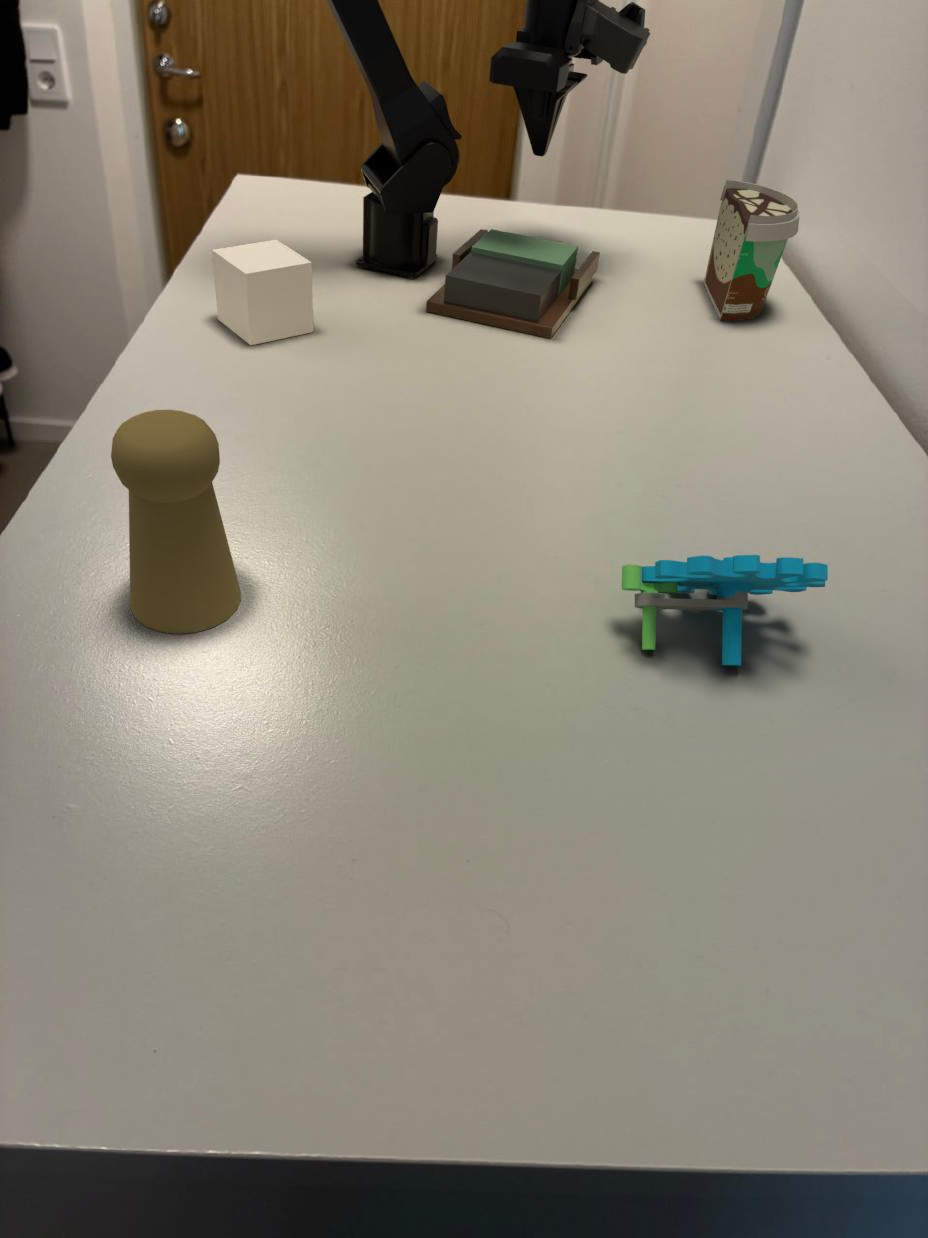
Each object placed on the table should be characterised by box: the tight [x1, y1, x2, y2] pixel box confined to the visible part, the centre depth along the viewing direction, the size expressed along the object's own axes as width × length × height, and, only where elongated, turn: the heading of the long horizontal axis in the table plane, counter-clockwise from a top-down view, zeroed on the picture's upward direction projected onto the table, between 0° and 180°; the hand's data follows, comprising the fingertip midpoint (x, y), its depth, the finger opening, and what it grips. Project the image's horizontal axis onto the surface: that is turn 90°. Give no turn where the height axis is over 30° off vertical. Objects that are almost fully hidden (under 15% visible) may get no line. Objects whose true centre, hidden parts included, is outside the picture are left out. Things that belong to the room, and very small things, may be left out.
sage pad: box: [471, 228, 579, 296], centre depth 92 cm, size 6×9×3 cm, turn 71°
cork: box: [110, 409, 242, 635], centre depth 50 cm, size 6×6×11 cm
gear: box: [621, 554, 829, 667], centre depth 52 cm, size 11×6×10 cm
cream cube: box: [211, 239, 314, 346], centre depth 80 cm, size 6×6×6 cm
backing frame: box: [425, 228, 601, 339], centre depth 91 cm, size 16×13×4 cm
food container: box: [703, 179, 800, 322], centre depth 92 cm, size 12×6×10 cm, turn 179°
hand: (539, 154), depth 94 cm, fingers closed
